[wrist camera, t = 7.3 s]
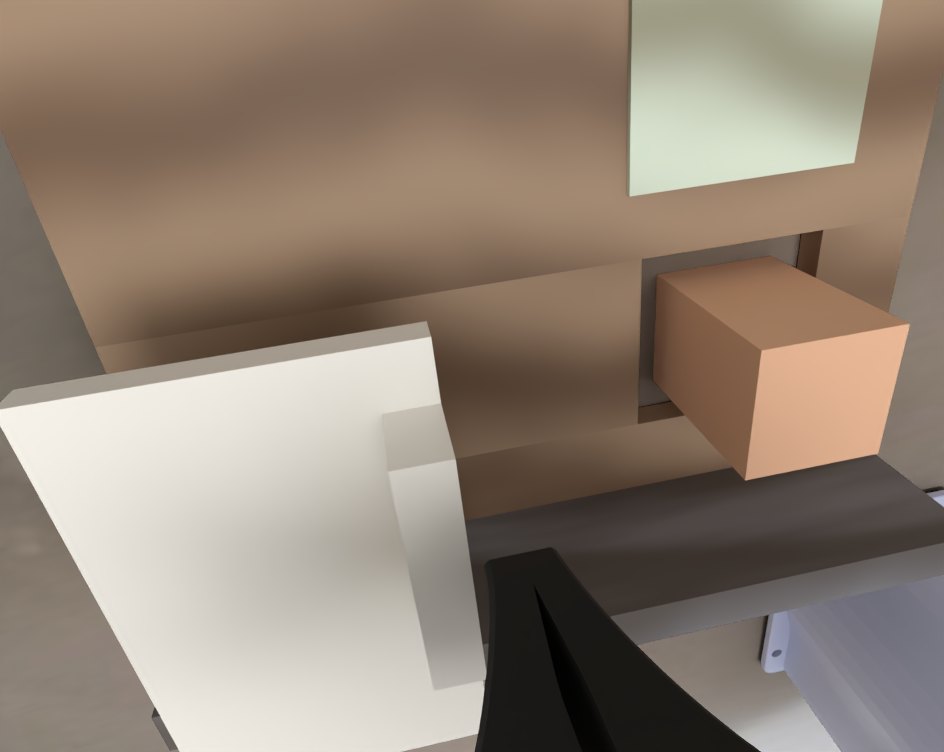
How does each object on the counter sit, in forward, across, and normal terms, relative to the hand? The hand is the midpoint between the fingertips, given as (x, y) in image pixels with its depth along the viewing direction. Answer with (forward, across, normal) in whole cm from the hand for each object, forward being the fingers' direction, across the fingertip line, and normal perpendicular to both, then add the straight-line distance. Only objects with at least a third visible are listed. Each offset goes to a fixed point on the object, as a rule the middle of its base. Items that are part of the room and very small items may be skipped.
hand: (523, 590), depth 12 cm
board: (+10, -3, -3) cm, 11 cm away
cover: (+3, +5, +2) cm, 6 cm away
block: (+10, -9, 0) cm, 13 cm away
